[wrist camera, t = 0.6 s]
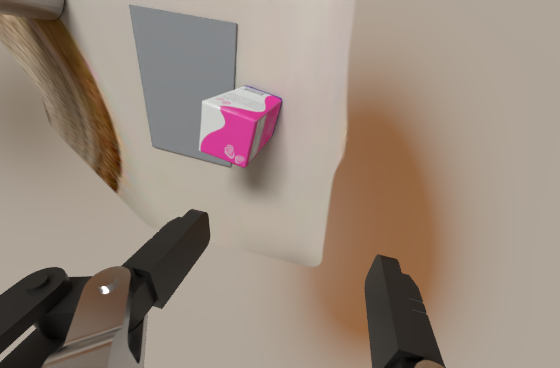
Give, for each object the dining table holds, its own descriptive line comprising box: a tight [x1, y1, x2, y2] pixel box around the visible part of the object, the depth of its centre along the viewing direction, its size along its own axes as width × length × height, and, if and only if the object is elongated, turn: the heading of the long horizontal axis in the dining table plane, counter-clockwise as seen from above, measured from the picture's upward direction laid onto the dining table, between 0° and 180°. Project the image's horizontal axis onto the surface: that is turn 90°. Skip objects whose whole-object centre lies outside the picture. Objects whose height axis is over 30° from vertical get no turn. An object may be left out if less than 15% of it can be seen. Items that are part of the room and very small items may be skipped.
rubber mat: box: [129, 5, 237, 167], centre depth 33 cm, size 15×20×1 cm
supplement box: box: [199, 85, 282, 168], centre depth 27 cm, size 6×6×12 cm
